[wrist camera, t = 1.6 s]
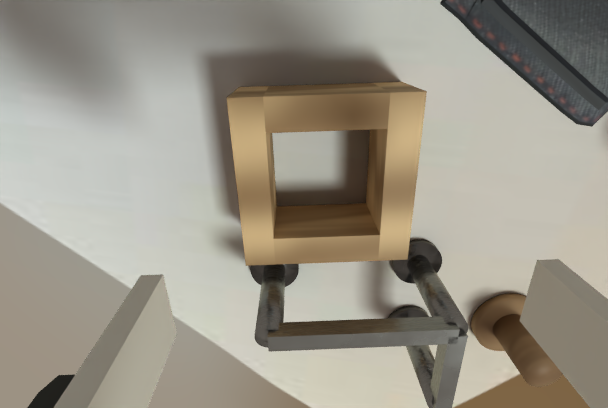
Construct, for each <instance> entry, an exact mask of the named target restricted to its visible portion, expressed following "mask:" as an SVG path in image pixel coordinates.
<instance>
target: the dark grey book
mask: <svg viewBox="0 0 608 408" xmlns="http://www.w3.org/2000/svg"><path fill="white" fill-rule="evenodd" d="M440 4H441V5H442V6H444V7H445V8H446V9H447V10H448V11H450V12H451V13H452V14H453V15H454V16H456V17H457V18H458V19H459V20H460V21H461V22H462V23H463V24H464V25H465V26H466V27H467V28H468V29H469V31H470V32H471V33H472V34H473V35H474V36H475V37H476V38H477V39H478V40H479V41H481V42H482V43H483V44H484V45H485V46H486V47H487V48H489V49H490V50H491V51H492V52H493V53H494V54H495V55H496V56H498V57H499V58H500V59H501V60H502V61H503V62H504V63H506V64H507V65H508V66H509V67H510V68H511V69H512V70H514V71H515V72H516V73H517V74H518V75H519V76H520V77H522V78H523V79H524V80H525V81H526V82H527V83H528V84H530V85H531V86H532V87H533V88H534V89H535V90H536V91H538V92H539V93H540V94H541V95H542V96H543V97H545V98H546V99H547V100H548V101H549V102H550V103H551V104H553V105H554V106H555V107H556V108H557V109H558V110H559V111H561V112H562V113H563V114H565V115H566V116H567V117H568V118H570V119H571V120H572V121H574V122H575V123H576V124H580V125H586V126H593V125H594V124H595V123H596V122H597V121H598V120H599V119H600V118H601V117H602V116H603V115H604V114H605V113H606V112H607V111H608V0H443V1H442V2H441V3H440Z"/></svg>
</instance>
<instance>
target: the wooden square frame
mask: <svg viewBox="0 0 608 408" xmlns="http://www.w3.org/2000/svg"><path fill="white" fill-rule="evenodd" d="M426 93H427V91H424V90H421V89H419V88H416V87H414V86H411V85H408V84H406V83H403V82H381V83H350V84H318V85H287V86H255V87H239V88H238V89H236V90H235V91H234V92H233V93H232V94H230V95H229V96H228V97H227V107H228V116H229V124H230V133H231V142H232V150H233V159H234V167H235V176H236V185H237V193H238V202H239V210H240V219H241V228H242V236H243V245H244V254H245V262H246V266H248V265H274V264H301V263H327V262H354V261H381V260H407V259H408V250H409V242H410V233H411V224H412V215H413V207H414V198H415V189H416V180H417V172H418V163H419V154H420V145H421V137H422V128H423V119H424V110H425V102H426ZM341 130H370V135H369V155H368V174H367V194H366V203H358V204H330V205H302V206H277V200H276V185H275V170H274V155H273V140H272V133H281V132H311V131H341Z"/></svg>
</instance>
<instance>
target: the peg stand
mask: <svg viewBox="0 0 608 408" xmlns="http://www.w3.org/2000/svg"><path fill="white" fill-rule="evenodd" d="M525 300H526V296H524V295H521V294H515V293H509V294H502V295H498V296H496V297H493V298H491V299H489V300H487V301H486V302H484V303H483V304H482V305H481V306H480V307H479V308H478V309H477V310H476V311H475V313H474V315H473V317H472V320H471V328H472V331H473V333H474V335H475V336H476V338H477V340H478V341H479V343H480V344H481V345H483V346H484V347H486V348H488V349H491V350H496V351H506V353H507V354H508V356H509V357H510V359H511V360H512V362H513V363H514V365H515V366H516V368H517V369H518V371H519V372H520V374H521V375H522V376H523V378H524V379H525V381H526V382H527V383H528V384H529V385H531V386H535V387H542V386H547V385H550V384H552V383H554V382H555V381H557V380H558V379H559V378H560V377H561V376H562V372H561V371H560V370H559V369H558V367H557V366H556V365H555V364H554V362H553V361H552V360H551V359H550V358H549V356H548V355H547V354H546V353H545V351H544V350H543V349H542V348H541V347H540V345H539V344H538V343H537V342H536V340H535V339H534V338H533V337H532V335H531V334H530V333H529V332H528V331H527V329H526V328H525V327H524V326H523V324H522V323H521V322H520V317H521V314H522V310H523V307H524V303H525Z"/></svg>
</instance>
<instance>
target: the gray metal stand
mask: <svg viewBox="0 0 608 408" xmlns="http://www.w3.org/2000/svg"><path fill="white" fill-rule="evenodd" d="M441 264H442V257H441V254H440V252H439V251H438V249H437V248H436V246H435V245H434V244H432V243H431V242H429V241H426V240H412V241H410V242H409V250H408V259H407V260H392V265H393V269H394V271H395V273H396V275H397V276H398V277H399V278H400V279H401V280H403V281H405V282H408V283H415V284H416V286H417V288H418V290H419V292H420V294H421V296H422V298H423V300H424V302H425V304H426V306H427V308H428V310H429V312H430V314H431V316H432V317H429V316H428V314H427V312H426V311H425V310H423V309H422V308H420V307H416V306H406V307H402V308H399V309H397V310H396V311H394V312H393V313H392V314H391V315H390V316H389V318H387V319H362V320H337V321H312V322H286V323H283V318H284V291H285V287H286V286H288V285H290V284H291V283H292V282H293V281H294V280H295V279H296V277H297V275H298V269H299V268H298V264H274V265H251V267H250V270H251V274H252V277H253V278H254V280H255V281H256V282H257V283H258V284H260V285H261V293H260V300H259V308H258V315H257V323H256V330H255V340H256V342H257V343H258V344H259V345H261V346H263V347H268V348H269V351H291V350H315V349H340V348H365V347H389V346H406V347H407V350H408V353H409V356H410V358H411V361H412V364H413V367H414V369H415V372H416V375H417V377H418V380H419V383H420V386H421V388H422V391H423V394H424V397H425V399H426V402H427V405H428V407H429V408H452V404H453V400H454V395H455V391H456V386H457V382H458V377H459V373H460V368H461V364H462V360H463V355H464V351H465V346H466V342H467V337H468V336H467V334H466V333H467V331H468V324H467V322H466V321H465V319H464V317H463V316H462V314H461V312H460V311H459V309H458V308H457V306H456V304H455V303H454V301H453V299H452V298H451V296H450V295H449V293H448V291H447V290H446V288H445V286H444V285H443V283H442V281H441V280H440V278H439V277H438V275H437V272H438V271H439V269H440V267H441ZM428 345H438V346H437V352H436V357H435V359H434V357H433V355H432V352H431V350H430V348H429V346H428Z"/></svg>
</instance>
